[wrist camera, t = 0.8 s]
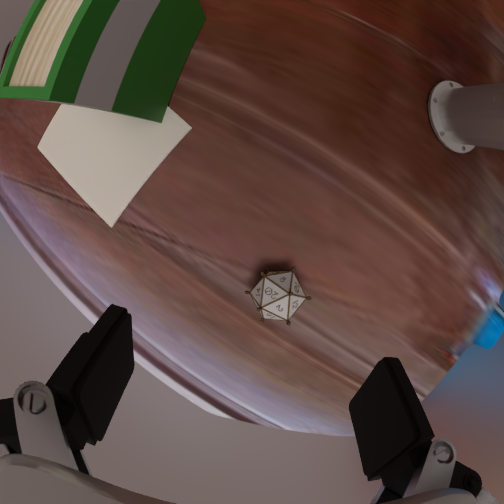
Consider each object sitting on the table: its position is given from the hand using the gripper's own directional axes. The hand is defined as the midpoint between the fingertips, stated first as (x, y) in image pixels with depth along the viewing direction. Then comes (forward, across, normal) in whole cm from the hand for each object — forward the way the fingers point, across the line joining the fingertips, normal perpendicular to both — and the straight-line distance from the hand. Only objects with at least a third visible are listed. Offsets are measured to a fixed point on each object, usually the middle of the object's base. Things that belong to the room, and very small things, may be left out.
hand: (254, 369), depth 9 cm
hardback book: (+31, +18, -17) cm, 40 cm away
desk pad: (+31, +26, -5) cm, 41 cm away
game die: (+31, -6, +12) cm, 34 cm away
